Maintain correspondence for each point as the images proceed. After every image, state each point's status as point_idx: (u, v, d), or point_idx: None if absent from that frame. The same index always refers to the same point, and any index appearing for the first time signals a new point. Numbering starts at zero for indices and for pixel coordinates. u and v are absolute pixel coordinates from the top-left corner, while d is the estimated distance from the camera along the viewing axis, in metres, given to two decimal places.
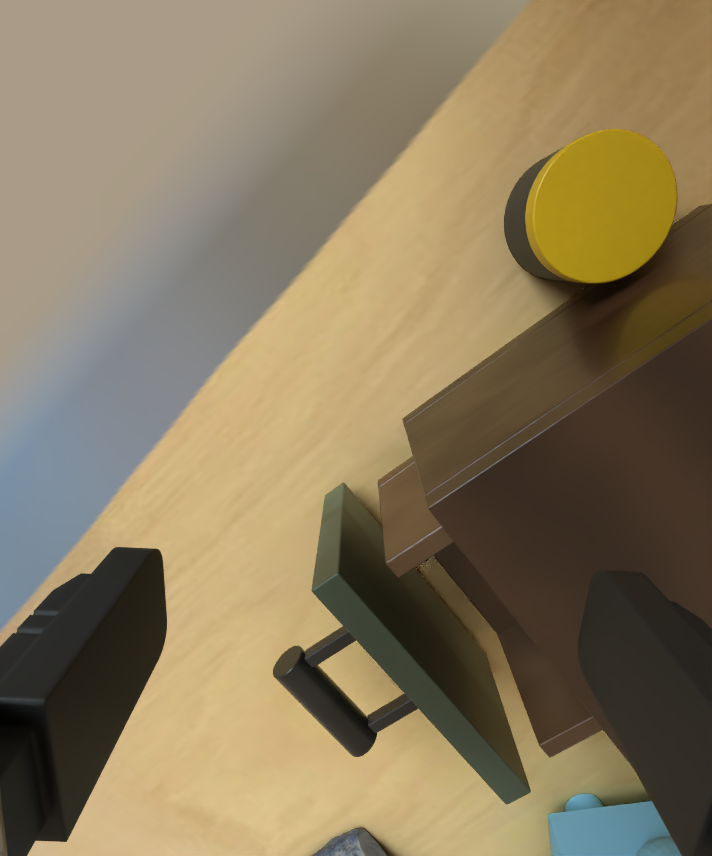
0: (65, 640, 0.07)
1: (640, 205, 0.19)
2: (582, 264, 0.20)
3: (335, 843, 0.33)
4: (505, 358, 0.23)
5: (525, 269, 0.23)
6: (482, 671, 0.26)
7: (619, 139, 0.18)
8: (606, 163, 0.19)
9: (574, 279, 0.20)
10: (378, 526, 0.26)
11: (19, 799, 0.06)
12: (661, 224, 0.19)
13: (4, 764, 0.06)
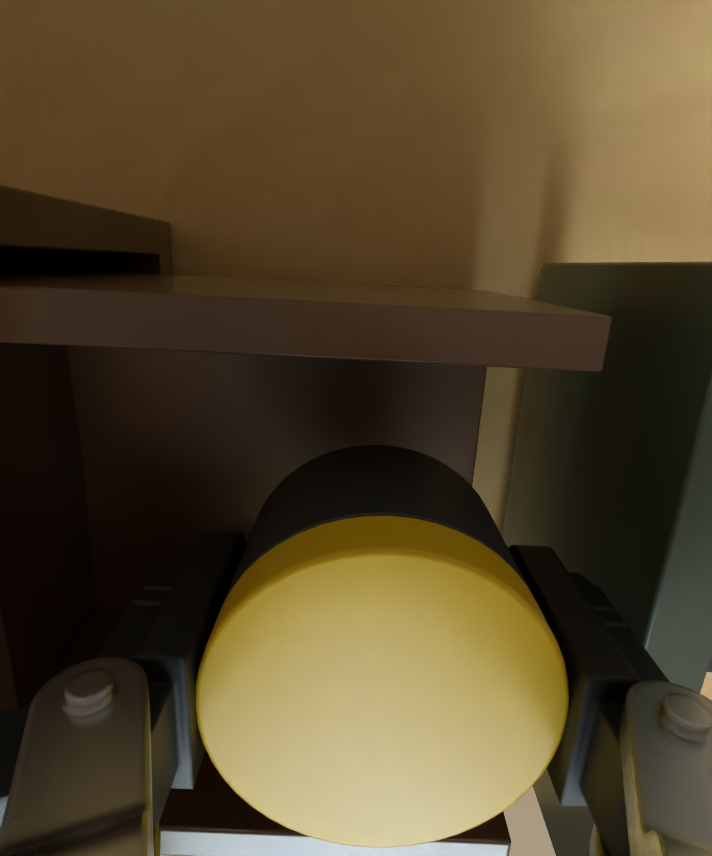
0: (187, 609, 0.08)
1: (305, 675, 0.07)
2: (508, 650, 0.07)
3: None
4: None
5: None
6: None
7: (271, 801, 0.08)
8: (323, 785, 0.08)
9: (549, 632, 0.07)
10: None
11: (165, 745, 0.07)
12: (283, 607, 0.07)
13: (157, 712, 0.06)
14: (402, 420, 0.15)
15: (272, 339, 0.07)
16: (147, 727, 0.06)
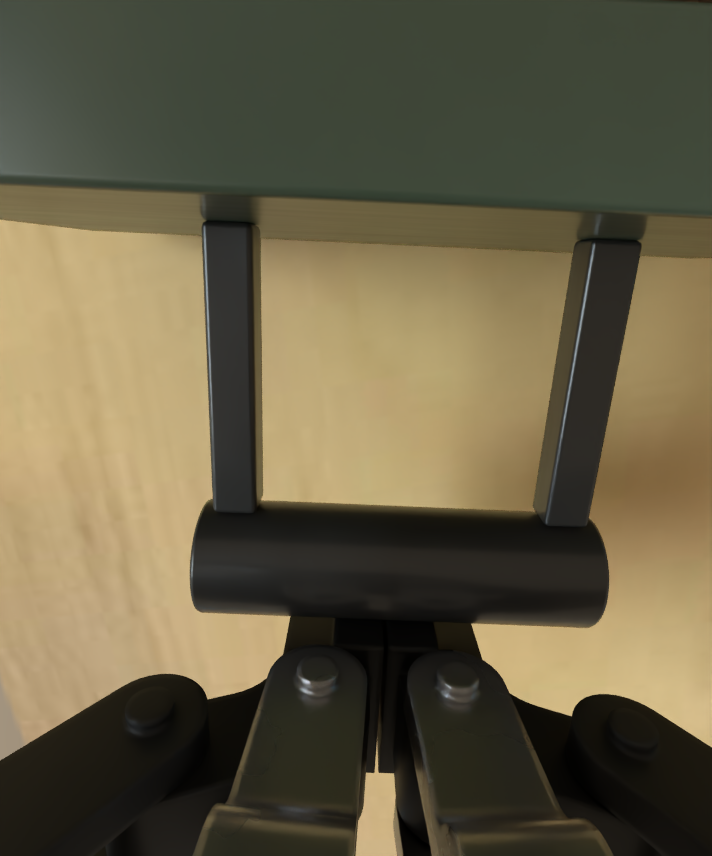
0: None
1: None
2: None
3: None
4: None
5: None
6: None
7: None
8: None
9: None
10: None
11: None
12: None
13: (368, 697, 0.07)
14: None
15: None
16: (362, 729, 0.06)
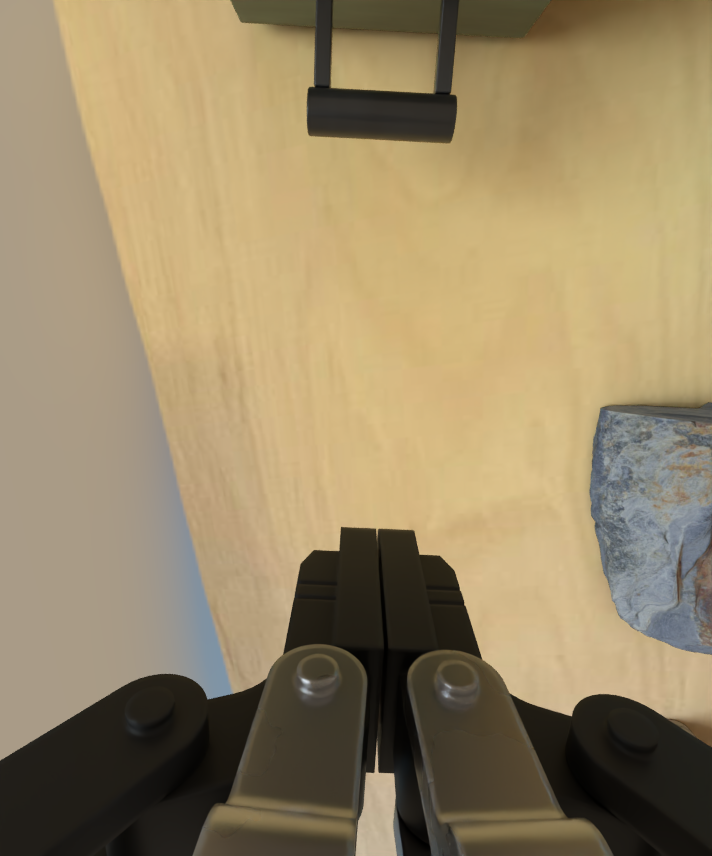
0: (361, 601, 0.08)
1: None
2: None
3: (596, 438, 0.29)
4: None
5: None
6: None
7: None
8: None
9: None
10: None
11: None
12: None
13: (367, 697, 0.07)
14: None
15: None
16: (362, 729, 0.06)
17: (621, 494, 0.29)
